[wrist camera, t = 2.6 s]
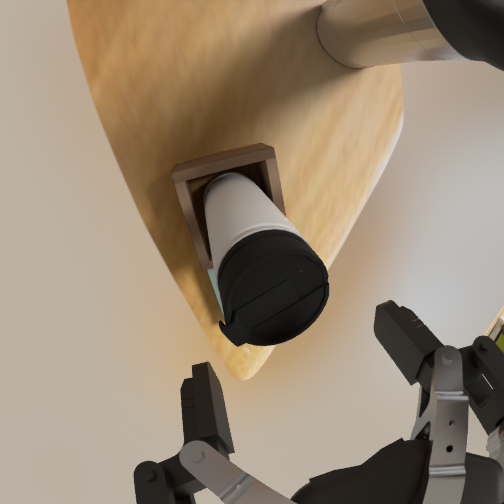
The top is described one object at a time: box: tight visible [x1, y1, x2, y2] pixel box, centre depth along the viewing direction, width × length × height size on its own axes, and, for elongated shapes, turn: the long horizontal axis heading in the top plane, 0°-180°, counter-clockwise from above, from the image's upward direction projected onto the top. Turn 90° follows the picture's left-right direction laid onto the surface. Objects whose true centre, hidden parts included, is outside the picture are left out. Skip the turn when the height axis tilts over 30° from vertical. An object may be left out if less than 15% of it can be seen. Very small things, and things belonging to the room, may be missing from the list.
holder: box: [171, 143, 286, 271], centre depth 29 cm, size 11×10×5 cm
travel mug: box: [203, 171, 329, 347], centre depth 23 cm, size 6×7×20 cm
